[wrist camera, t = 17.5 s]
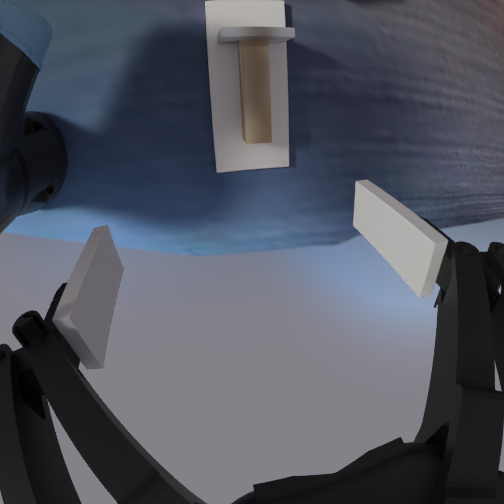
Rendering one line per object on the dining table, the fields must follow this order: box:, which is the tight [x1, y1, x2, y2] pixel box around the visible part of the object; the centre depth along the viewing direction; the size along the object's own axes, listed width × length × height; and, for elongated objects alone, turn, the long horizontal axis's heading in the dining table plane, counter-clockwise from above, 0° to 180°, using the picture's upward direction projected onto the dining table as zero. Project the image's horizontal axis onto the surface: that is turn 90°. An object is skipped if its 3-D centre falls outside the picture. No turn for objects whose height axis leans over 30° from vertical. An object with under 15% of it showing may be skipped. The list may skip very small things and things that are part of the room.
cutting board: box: [205, 0, 289, 173], centre depth 34 cm, size 10×24×1 cm, turn 3°
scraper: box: [217, 27, 295, 144], centre depth 31 cm, size 8×14×6 cm, turn 3°
